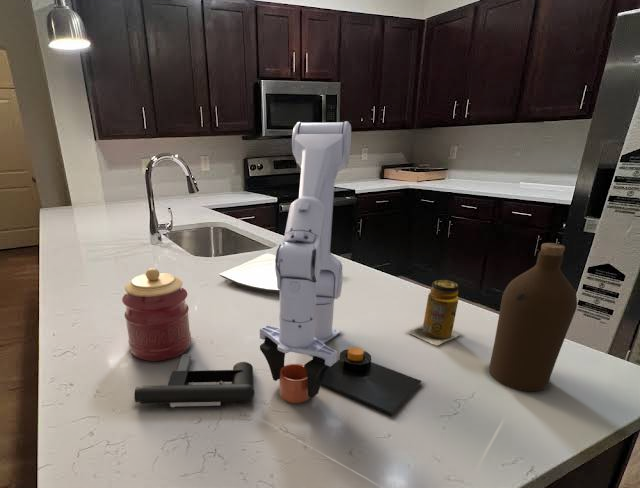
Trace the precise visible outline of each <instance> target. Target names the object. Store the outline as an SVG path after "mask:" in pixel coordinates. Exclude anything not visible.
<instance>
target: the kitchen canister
mask: <svg viewBox="0 0 640 488" xmlns="http://www.w3.org/2000/svg"><path fill="white" fill-rule="evenodd" d="M182 286H183V281H182V280H181V279H180V278H179V277H176V276H174V275H173V274H171V273H167V272H160V271H159V270H158V269H157V268H156V267H149V268H148V269H147V270H146V272H145V273H144V274H140V275H138V276H135V277H134V278H132V279H131V281H129V282H127V284H126V285H125V287H124V290H125V292H126V293H125V294H123V296H122V297H121V301H122V304H123V305H124V306H125V311H124V318H125V322H126V329H127V335H128V336H127V337H128V339H127V342H128V347H129V349H130V352H131V354H132V355H133V356H134V357H136V358H137V359H140V360H144V361H149V362H150V361H151V362H153V361H155V362H157V361H159V362H160V361H167V360H170V359H173V358H177V357H178V356H182V355H183V354H184V353H185V352H187V350H189V348H190V346H191V341H192V333H191V330H190V318H189V305H188V304H187V302H186V300H187V298H188V291H187V290H186V288H184V287H182Z"/></svg>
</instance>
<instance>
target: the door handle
mask: <svg viewBox="0 0 640 488" xmlns="http://www.w3.org/2000/svg"><path fill="white" fill-rule="evenodd" d="M191 365H192V354H190V353H189V354H181V358H180V360H179V364H178V367H177V370H172V371H171V374H170V377H169V379H168V383H167V385H166V384H165V385H164V384H163V385H142V386H136V387H135V388H134V395H133V396H134V402H135V403H139V404H143V405H153V404H154V405H157V404H158V405H159V404H169V406H170V407H171V408H175V407H214V406H215V407H216V406H217V407H218V406H219V407H220V406H221V403H237V404H238V403H248V402H250V401H252V400H253V398H254V397H255V389H254V366H253V365H252V364H251V363H249V362H247V361H239V362H236V363H235V364H234V365H233V368H232V369H211V370H210V369H209V370H208V369H204V370H190V368H191ZM192 383H193V384H192ZM195 383H196V384H195ZM199 383H202V384H199ZM203 383H217V384H203Z"/></svg>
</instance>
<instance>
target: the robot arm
mask: <svg viewBox="0 0 640 488" xmlns="http://www.w3.org/2000/svg"><path fill="white" fill-rule="evenodd" d="M291 135H292V136H291V151H292V155H293V157H294V159H295V162H296V164H298V166H299V168H300V176H299V177H300V178H299V189H298V198H296V199H295V200H294V201H292V202H291V203H290V204H289V209H288V215H287V219H286V226H285V231H284V236H283V241H282V244H281V243H279V244H278V245H277V248H276V252H275V255H276V257H275V271H276V276H277V287H278V289H279V290H280V292H279V314H278V315H279V316H278V317H279V321H278V322H279V325H278V327H276V326H271V325H269V324H266V325H264V326H262V327H260V328H259V339H261V340H263V343H261V344H260V345H259V351H260V352H261V353H262V355H263V356H264V358H265V360H266V362H267V364H268V367H269V370H270V374H271V377H272V380H273V381H274V382H277V381H278V380H279V377H280V369H281V368H282V367H283V366H285V358H286V354H288V353H295V354H301V355H306V356H309V357H311V358H312V359H310V360H309V361H307V362H306V363H304V364H303V365H304V367H305V370H306V373H307V378H308V397H310V398H311V399H313V398H314V397H316V396H317V395H318V394H319V391H320V388H321V383H322V380H323V378H324V376H325V374H326V372H327V371H328V369H329V367H330V366H332V365H333V364H334V363H336V362H337V361H338V350H335V349H333V348H331V347H329V346H328V345H326V344H327V342H329V341H331V340H332V339H334V338H335V337H336V336H338V335H339V334H340V333H341V332H340V330H338V329H335V328H333V323H334V321H333V320H334V308H335V307H334V306H335V300H338V299H339V298H341V294H342V287H343V264H342V261H341V260H339V258H337V257H336V256H334V254H332V253H331V244H332V228H333V213H334V197H335V181H336V179H337V175H338V173H339V172H341V171H342V170H345V169H347V168H348V164H349V163H350V153H351V142H352V125H351V123H350V122H349V121H346V120H345V121H337V122H335V121H334V122H302V121H298V122H296V124H294V126H293V129H292V134H291ZM310 398H309V399H310Z"/></svg>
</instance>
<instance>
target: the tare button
mask: <svg viewBox="0 0 640 488" xmlns="http://www.w3.org/2000/svg"><path fill="white" fill-rule="evenodd" d="M347 349H348V355H347V358H348V359H350V360H352V361H361V360H363V357H364V351H365V350H364V349H363V348H362V347H358V346H352V347H349V348H347Z"/></svg>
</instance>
